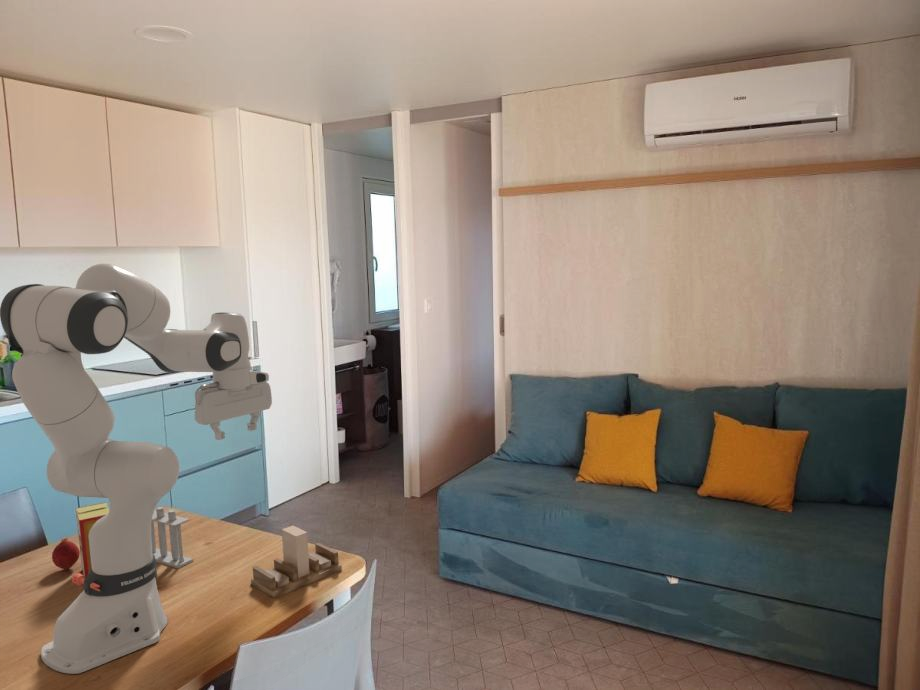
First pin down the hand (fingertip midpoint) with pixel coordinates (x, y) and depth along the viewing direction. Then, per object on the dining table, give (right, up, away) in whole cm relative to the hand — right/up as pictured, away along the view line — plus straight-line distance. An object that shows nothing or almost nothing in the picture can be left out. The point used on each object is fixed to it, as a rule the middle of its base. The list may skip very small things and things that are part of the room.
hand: (236, 434), depth 169 cm
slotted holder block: (+17, -32, -8) cm, 37 cm away
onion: (-41, -33, -1) cm, 52 cm away
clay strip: (+17, -31, -8) cm, 36 cm away
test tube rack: (-23, -32, +6) cm, 40 cm away
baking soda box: (-32, -33, -4) cm, 46 cm away
